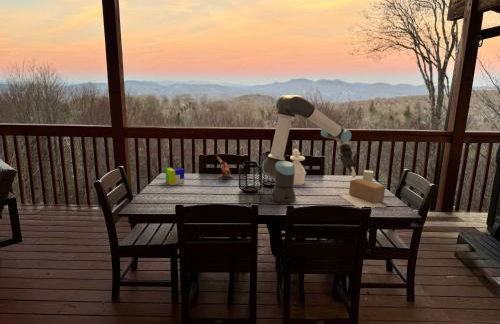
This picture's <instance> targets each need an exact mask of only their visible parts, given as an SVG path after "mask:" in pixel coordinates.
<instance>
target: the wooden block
mask: <svg viewBox="0 0 500 324" xmlns="http://www.w3.org/2000/svg"><path fill="white" fill-rule="evenodd" d="M349 181H350V182H349V192H348V195H352V196H355V197H358V198H361V199H364V200H366V201H369V202H372V203H376V202H379V203H381V202H383V201H384V200H385V192H386V191H385V190H386V186H385V185H383V184H379V183H376V182H373V181H372V182H370V181H366V180H363V178H356V179H352V180H351V179H350V180H349Z"/></svg>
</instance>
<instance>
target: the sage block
mask: <svg viewBox="0 0 500 324" xmlns="http://www.w3.org/2000/svg"><path fill="white" fill-rule="evenodd" d="M373 177H374V170H368V169H364V170H363V175H362V179H363V180H366V181H370V182H373Z"/></svg>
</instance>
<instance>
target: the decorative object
mask: <svg viewBox="0 0 500 324" xmlns="http://www.w3.org/2000/svg"><path fill="white" fill-rule="evenodd" d="M292 153H293V155H291V156H290V157H289V158H290V160H291V161H292V162H291V163H293V164H294V167H295V172H294V186H302V185H304V184H305V177H306V175H307V171H306V170H305V168H304V167H303V164H302V163H301V161H302V162H303V161H305V160H306V157H305V156H303V155H301V154H302V153H301V152H300V151H299V149H297V148H294V149H293V150H292Z"/></svg>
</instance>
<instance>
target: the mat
mask: <svg viewBox="0 0 500 324" xmlns="http://www.w3.org/2000/svg"><path fill="white" fill-rule="evenodd" d="M339 197H341V198H342V199H343V200H345V201H347V202H348V203H350V204H351V205H352V206H354V207H355V208H357V207H360V208H361V207H364V206H367V207H371V208H370V209H376V208H375V207H381V208H387V206H386V205H385V204H382V202H376V203H372V202H369V201H366V200H364V199H361V198H358V197H355V196H352V195H350V194H346V195H344V194H342V195H341V194H340V195H339Z"/></svg>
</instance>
